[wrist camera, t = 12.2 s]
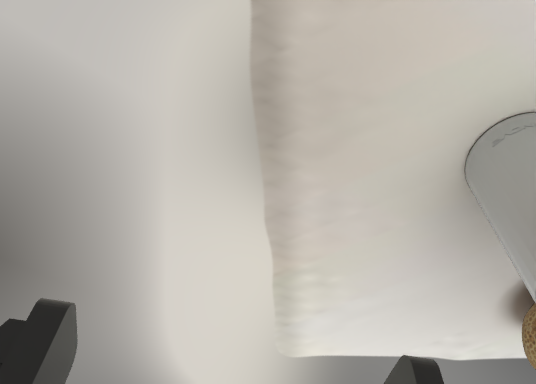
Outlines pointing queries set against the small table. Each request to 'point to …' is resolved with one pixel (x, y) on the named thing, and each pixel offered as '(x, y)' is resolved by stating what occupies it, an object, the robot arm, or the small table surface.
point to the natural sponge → (530, 335)
